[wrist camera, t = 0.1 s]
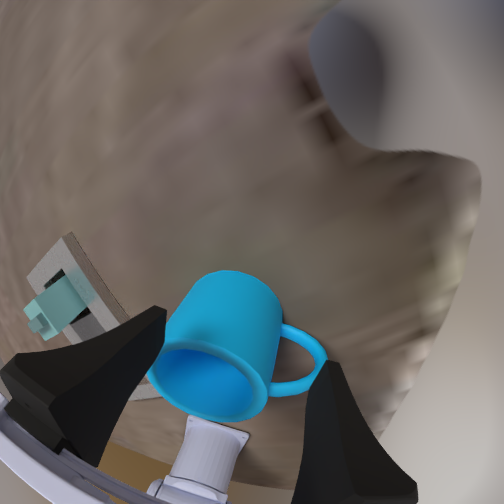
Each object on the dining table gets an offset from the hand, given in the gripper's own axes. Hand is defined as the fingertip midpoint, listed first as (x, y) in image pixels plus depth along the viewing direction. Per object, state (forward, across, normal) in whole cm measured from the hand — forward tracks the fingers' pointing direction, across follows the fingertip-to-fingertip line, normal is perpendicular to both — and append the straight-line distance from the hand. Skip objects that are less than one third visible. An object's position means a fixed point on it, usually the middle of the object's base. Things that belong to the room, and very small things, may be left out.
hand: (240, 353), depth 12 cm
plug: (+10, +19, +11) cm, 24 cm away
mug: (+10, 0, +6) cm, 12 cm away
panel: (+10, +16, +15) cm, 24 cm away
